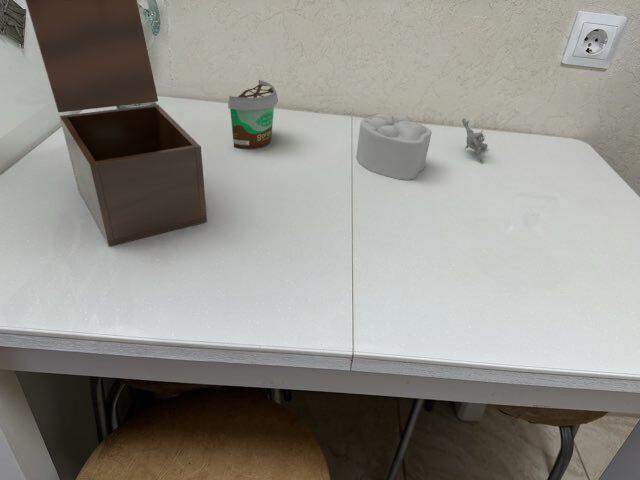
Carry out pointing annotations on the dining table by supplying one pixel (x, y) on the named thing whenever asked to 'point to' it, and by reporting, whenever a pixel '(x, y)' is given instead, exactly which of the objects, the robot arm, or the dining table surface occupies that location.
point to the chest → (136, 171)
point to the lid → (93, 52)
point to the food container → (253, 116)
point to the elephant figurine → (475, 140)
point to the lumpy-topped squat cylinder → (393, 146)
